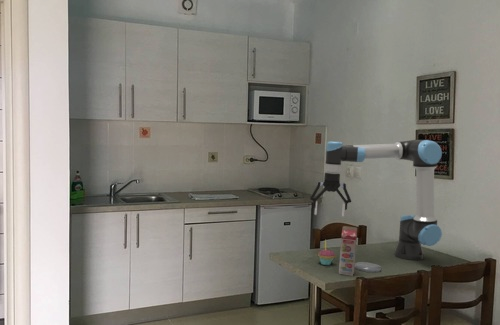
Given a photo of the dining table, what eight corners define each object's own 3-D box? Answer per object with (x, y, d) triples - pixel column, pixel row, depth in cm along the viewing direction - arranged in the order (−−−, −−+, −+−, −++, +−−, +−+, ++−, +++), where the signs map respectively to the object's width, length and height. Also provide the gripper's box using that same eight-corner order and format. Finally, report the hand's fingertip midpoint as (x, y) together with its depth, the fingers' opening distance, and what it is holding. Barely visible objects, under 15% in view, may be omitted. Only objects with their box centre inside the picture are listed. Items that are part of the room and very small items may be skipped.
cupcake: (314, 261, 232) (315, 238, 232) (328, 260, 236) (330, 237, 235) (323, 267, 225) (325, 242, 224) (338, 265, 228) (339, 242, 227)
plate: (377, 265, 233) (377, 262, 233) (384, 273, 220) (384, 270, 220) (351, 263, 233) (351, 261, 233) (356, 271, 220) (357, 269, 220)
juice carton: (340, 269, 221) (343, 224, 220) (354, 271, 220) (357, 226, 218) (338, 273, 215) (342, 227, 214) (353, 275, 213) (356, 229, 212)
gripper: (356, 173, 230) (352, 215, 232) (306, 170, 231) (303, 212, 233) (359, 175, 223) (355, 218, 225) (307, 171, 224) (304, 214, 225)
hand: (329, 215), depth 229 cm, fingers open, 13 cm apart
